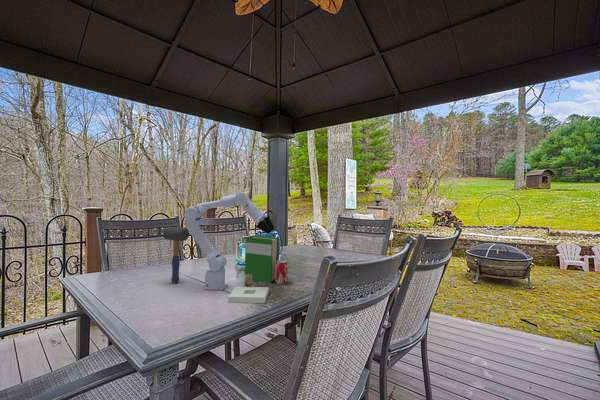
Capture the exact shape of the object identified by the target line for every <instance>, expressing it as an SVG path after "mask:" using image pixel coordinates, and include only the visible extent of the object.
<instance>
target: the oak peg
mask: <svg viewBox="0 0 600 400" xmlns="http://www.w3.org/2000/svg"><path fill="white" fill-rule="evenodd" d="M244 287H253V280H252V275H251V274H246V275H245V274H244Z"/></svg>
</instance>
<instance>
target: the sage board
mask: <svg viewBox="0 0 600 400" xmlns="http://www.w3.org/2000/svg"><path fill="white" fill-rule="evenodd" d="M269 290H270V288H269V287H265V286H264V287H262V286H261V287H260V286H259V287H257V286H251V287H245V286H235V288H234V289H233V290H232V292H231V293H230V294H229V295H228V300H227V302H228V303H229V304H230V303H232V304H233V303H234V304H235V303H237V304H241V303H243V304H265V303H266V301H267V297H268V295H269V293H270V291H269Z"/></svg>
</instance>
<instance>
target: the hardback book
mask: <svg viewBox="0 0 600 400" xmlns="http://www.w3.org/2000/svg"><path fill="white" fill-rule="evenodd" d="M279 241H280V239H279V237H272V236H263V235H261V236H260V235H249V236H245V241H244V242H245V243H244V245H245V246H244V251H245V253H244V276H245V275H246V274H251V275H252V282H253V281H254V282H259V283H260V282H261V283H265V284H270V285H271V284H272V283H273V281H274V282H275V265H276V263H277V261H278V260H279V248H280V246H279V244H280V243H279Z"/></svg>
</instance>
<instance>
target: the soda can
mask: <svg viewBox="0 0 600 400" xmlns="http://www.w3.org/2000/svg"><path fill="white" fill-rule="evenodd" d="M288 282H289V264H288V261H287V260H286V259H280V260H279V259H278V261H277V263H276V265H275V280H274V283H276V284H277V285H286V284H287V283H288Z"/></svg>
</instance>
